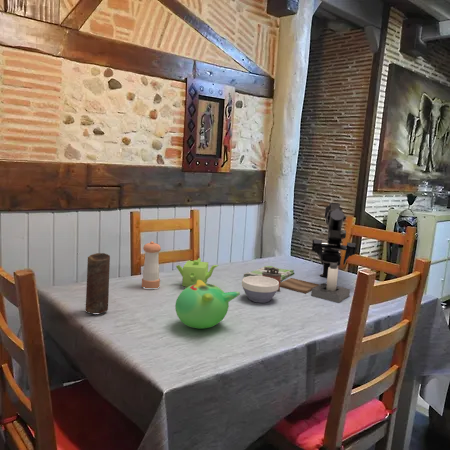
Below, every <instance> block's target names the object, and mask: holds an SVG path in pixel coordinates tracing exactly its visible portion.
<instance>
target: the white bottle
mask: <svg viewBox="0 0 450 450" xmlns="http://www.w3.org/2000/svg"><path fill="white" fill-rule="evenodd" d="M338 274H339V268H338V266H337V263H330V267H328V277H326V284H327V286H326V290H329V291H333V292H336V286H338V285H337V284H338Z"/></svg>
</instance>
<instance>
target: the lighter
mask: <svg viewBox="0 0 450 450" xmlns="http://www.w3.org/2000/svg"><path fill="white" fill-rule="evenodd" d="M263 267H264V266H263ZM274 267H275V266H273V267H272V268H270V267H264V270H267V272H262V276H264V277H269V278H273V279H275V280H277V281H278V282H279V288H278V290H277V292H276V293H278V292H281V287H280V282H281V281H280V279H281V273H278V272H279V269H280V268H279V267H276V268H274ZM269 271H270V272H269ZM275 271H276V272H275Z"/></svg>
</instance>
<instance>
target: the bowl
mask: <svg viewBox="0 0 450 450" xmlns="http://www.w3.org/2000/svg"><path fill="white" fill-rule="evenodd" d="M241 287H242V290H243V291H244V294H245V295H246V297H247V298H248V300H249V301H251V302H253V303H259V304H263V303H269V302H271V300H272V299H273V298H274V296H275V295H276V293H278V292H277V290H278V288H279V282H278V281H277V280H275V279H273V278H269V277H264V276H248V277H243V278H242V280H241Z"/></svg>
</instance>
